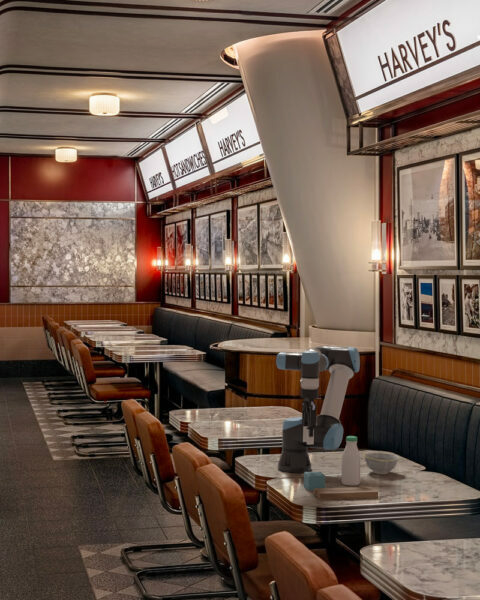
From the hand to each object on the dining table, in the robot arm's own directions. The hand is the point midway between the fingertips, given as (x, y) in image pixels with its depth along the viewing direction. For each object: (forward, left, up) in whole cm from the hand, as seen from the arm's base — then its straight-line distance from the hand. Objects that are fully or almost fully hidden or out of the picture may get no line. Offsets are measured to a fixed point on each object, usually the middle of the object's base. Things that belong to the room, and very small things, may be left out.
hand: (308, 442), depth 373 cm
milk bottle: (+5, +17, -17) cm, 25 cm away
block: (+10, 0, -17) cm, 20 cm away
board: (+25, +8, -17) cm, 31 cm away
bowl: (-14, +38, -17) cm, 44 cm away
